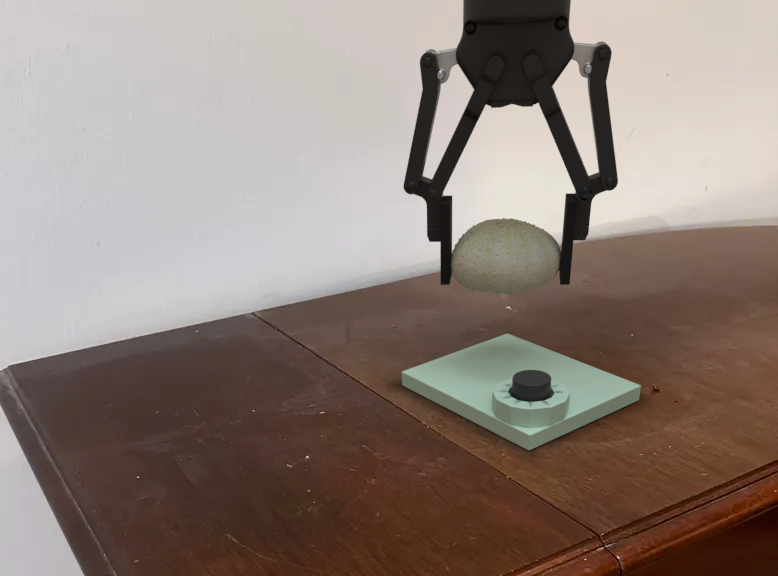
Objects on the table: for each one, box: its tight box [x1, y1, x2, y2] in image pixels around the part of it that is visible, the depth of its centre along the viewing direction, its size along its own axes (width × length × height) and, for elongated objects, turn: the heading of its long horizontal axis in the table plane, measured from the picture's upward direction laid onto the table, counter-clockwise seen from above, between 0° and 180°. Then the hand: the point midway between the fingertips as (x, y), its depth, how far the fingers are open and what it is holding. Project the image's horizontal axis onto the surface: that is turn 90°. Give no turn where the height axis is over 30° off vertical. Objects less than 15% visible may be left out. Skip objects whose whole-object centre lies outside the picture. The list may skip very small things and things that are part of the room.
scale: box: [401, 333, 642, 451], centre depth 70 cm, size 16×13×3 cm
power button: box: [512, 370, 551, 402], centre depth 64 cm, size 3×3×2 cm
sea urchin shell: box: [450, 217, 562, 295], centre depth 68 cm, size 9×8×8 cm
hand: (504, 279), depth 69 cm, fingers closed on sea urchin shell, 9 cm apart
